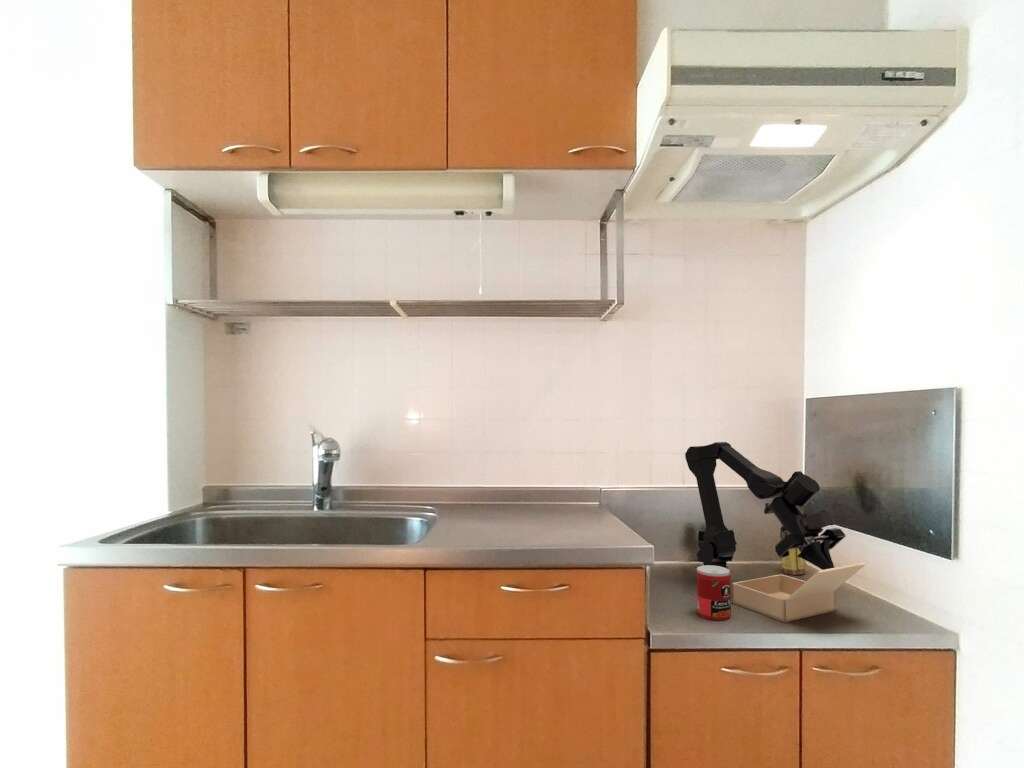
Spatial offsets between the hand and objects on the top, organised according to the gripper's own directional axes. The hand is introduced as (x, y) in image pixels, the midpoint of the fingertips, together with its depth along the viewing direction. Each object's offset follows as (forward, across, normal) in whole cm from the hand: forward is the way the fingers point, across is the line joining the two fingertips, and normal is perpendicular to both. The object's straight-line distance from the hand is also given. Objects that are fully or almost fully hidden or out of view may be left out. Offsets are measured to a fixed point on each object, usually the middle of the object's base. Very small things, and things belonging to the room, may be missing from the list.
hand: (833, 573), depth 138 cm
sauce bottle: (-16, +28, +33) cm, 46 cm away
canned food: (-4, -20, +21) cm, 29 cm away
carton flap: (0, 0, +3) cm, 3 cm away
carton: (-2, 0, +18) cm, 19 cm away
